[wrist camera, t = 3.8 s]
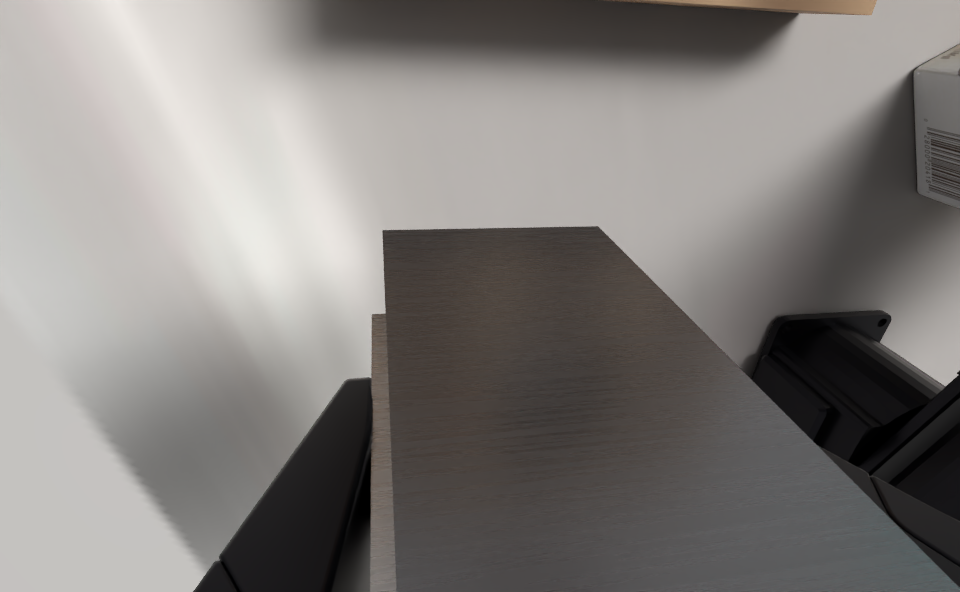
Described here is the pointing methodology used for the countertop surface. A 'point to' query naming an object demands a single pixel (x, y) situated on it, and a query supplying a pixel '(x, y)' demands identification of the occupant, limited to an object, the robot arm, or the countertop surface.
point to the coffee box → (938, 127)
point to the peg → (591, 438)
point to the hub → (777, 5)
